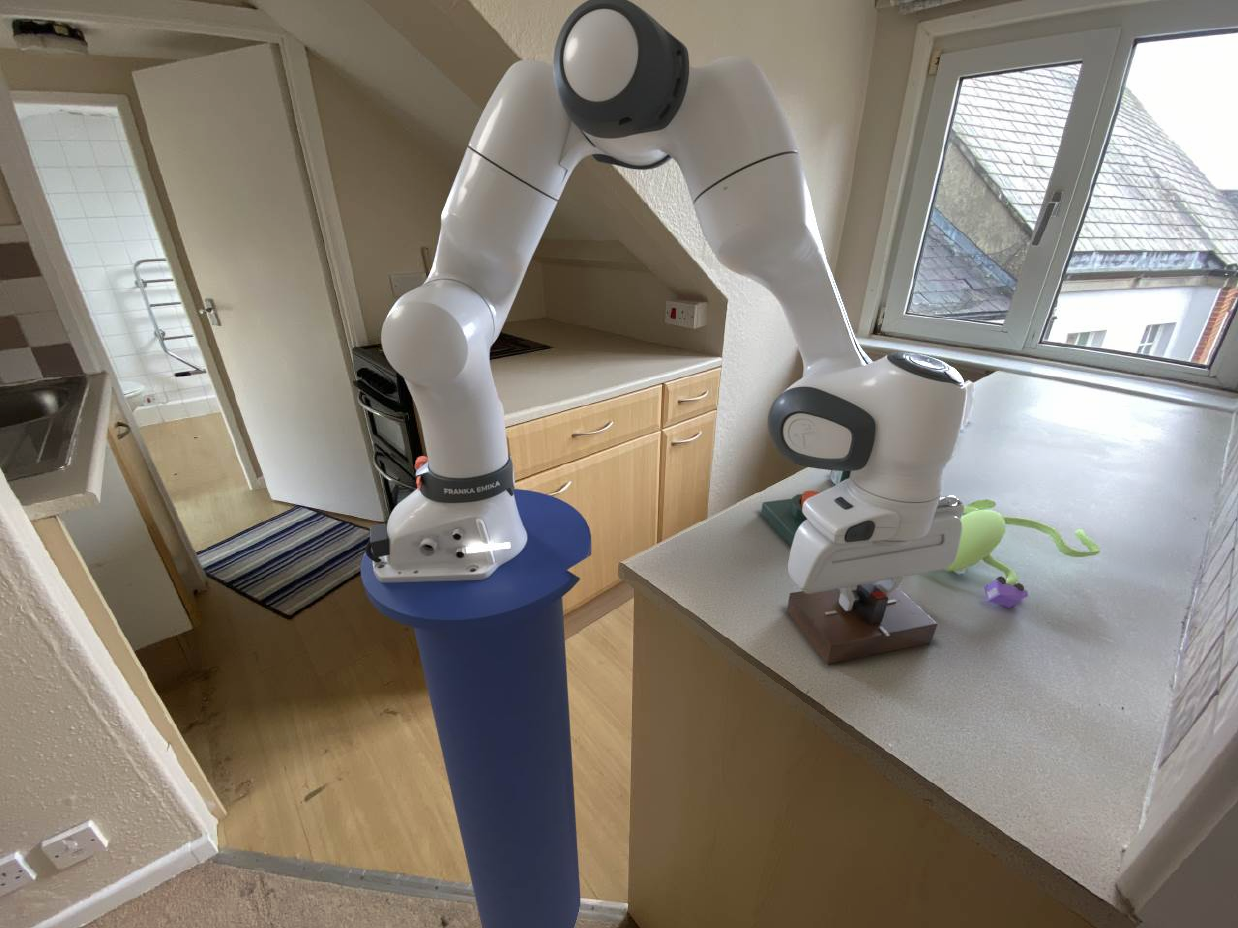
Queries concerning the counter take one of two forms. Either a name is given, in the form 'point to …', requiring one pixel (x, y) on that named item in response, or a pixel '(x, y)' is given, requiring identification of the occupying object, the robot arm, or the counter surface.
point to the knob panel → (858, 625)
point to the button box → (785, 516)
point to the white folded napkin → (968, 402)
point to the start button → (808, 495)
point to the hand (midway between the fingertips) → (862, 604)
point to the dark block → (871, 602)
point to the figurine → (986, 533)
